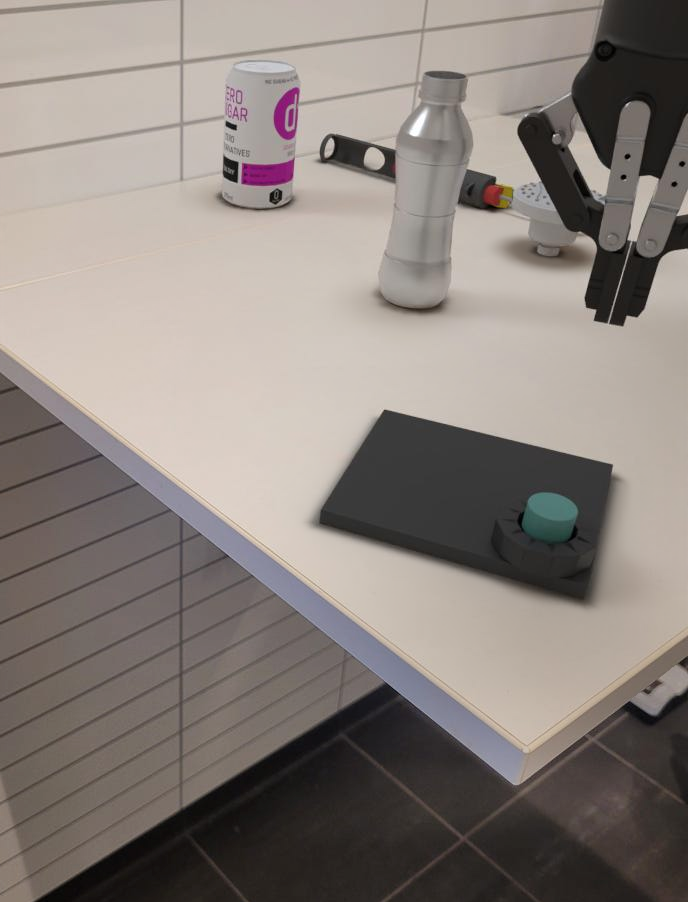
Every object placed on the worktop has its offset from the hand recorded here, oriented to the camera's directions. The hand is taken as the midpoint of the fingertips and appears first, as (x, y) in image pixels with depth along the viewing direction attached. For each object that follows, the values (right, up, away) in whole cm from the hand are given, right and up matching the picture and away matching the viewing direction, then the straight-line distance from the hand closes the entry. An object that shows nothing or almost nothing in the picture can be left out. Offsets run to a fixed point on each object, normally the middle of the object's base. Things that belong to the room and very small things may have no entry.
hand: (609, 317), depth 47 cm
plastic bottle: (-1, +8, +41) cm, 42 cm away
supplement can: (-15, +25, +64) cm, 70 cm away
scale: (-3, -10, +14) cm, 18 cm away
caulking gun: (+10, +27, +69) cm, 74 cm away
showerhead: (+16, +15, +52) cm, 56 cm away
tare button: (0, -11, +8) cm, 14 cm away
